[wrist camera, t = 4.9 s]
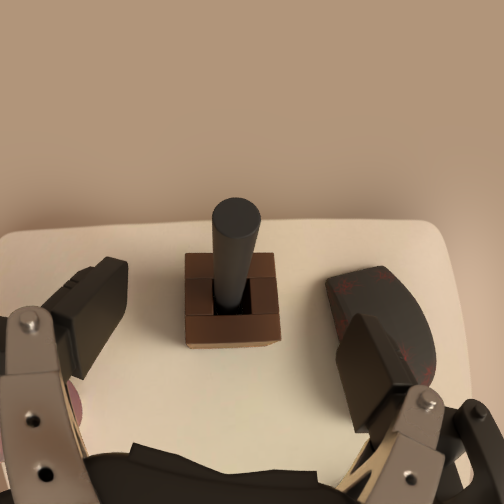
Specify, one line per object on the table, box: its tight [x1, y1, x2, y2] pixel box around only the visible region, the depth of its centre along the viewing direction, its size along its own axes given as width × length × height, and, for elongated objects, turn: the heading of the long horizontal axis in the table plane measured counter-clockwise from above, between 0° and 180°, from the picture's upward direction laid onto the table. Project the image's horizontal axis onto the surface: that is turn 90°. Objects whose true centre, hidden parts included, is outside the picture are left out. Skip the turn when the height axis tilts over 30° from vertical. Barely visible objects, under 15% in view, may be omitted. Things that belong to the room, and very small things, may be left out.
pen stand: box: [185, 253, 281, 349], centre depth 21 cm, size 6×6×5 cm
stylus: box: [212, 198, 261, 315], centre depth 17 cm, size 2×2×14 cm
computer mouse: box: [325, 266, 436, 387], centre depth 22 cm, size 8×14×4 cm, turn 14°
